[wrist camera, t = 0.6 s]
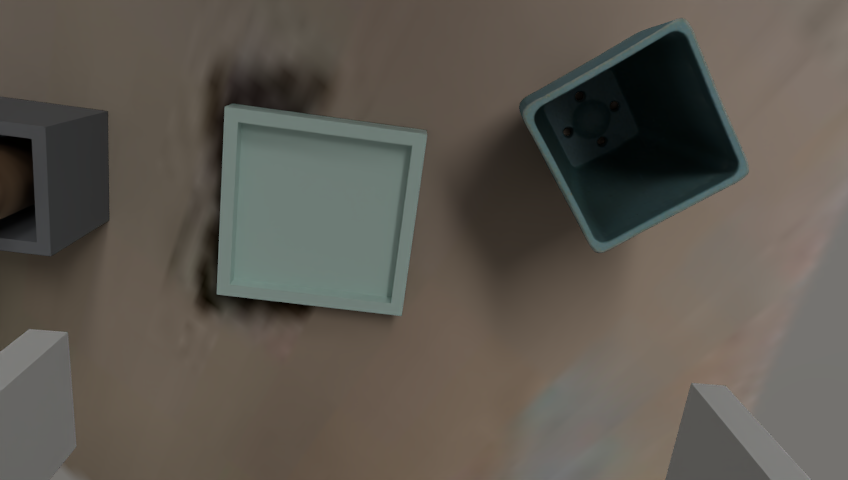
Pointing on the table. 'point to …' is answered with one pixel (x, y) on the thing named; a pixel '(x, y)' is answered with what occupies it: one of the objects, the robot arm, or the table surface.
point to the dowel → (16, 175)
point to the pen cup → (58, 175)
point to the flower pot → (636, 134)
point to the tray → (317, 209)
